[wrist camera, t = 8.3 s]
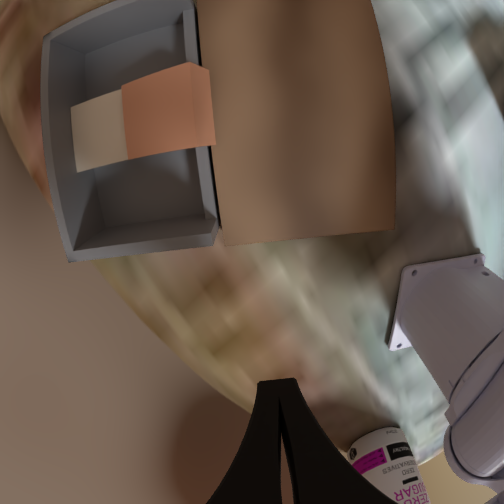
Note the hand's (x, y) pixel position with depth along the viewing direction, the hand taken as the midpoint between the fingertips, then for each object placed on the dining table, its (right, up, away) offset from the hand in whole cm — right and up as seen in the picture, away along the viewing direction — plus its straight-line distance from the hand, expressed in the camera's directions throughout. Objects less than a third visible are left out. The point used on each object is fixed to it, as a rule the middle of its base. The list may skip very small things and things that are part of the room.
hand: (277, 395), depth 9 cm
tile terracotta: (-5, +13, +3) cm, 14 cm away
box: (-8, +13, +5) cm, 16 cm away
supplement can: (+16, -20, +19) cm, 31 cm away
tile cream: (-9, +13, +5) cm, 16 cm away
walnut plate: (+2, +14, +5) cm, 15 cm away
